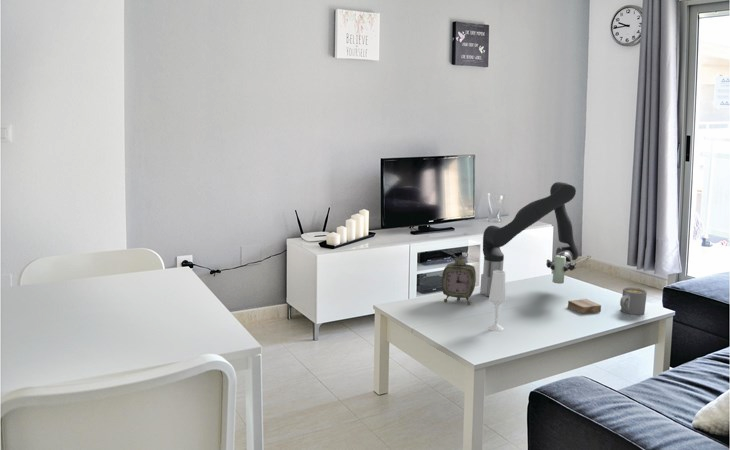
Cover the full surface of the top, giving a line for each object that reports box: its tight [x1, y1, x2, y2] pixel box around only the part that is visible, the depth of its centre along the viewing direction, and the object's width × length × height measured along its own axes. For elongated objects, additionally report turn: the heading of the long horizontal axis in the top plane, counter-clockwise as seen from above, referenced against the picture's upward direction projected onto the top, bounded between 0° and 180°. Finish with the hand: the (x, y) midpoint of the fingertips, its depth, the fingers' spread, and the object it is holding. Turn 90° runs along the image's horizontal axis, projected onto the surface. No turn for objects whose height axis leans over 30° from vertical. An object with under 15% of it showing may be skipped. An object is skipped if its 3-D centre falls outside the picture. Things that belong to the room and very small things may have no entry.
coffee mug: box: [619, 286, 648, 316], centre depth 299 cm, size 13×10×10 cm
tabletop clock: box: [441, 248, 477, 306], centre depth 305 cm, size 14×9×25 cm, turn 73°
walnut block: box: [567, 298, 602, 315], centre depth 301 cm, size 10×10×3 cm
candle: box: [552, 255, 566, 284], centre depth 304 cm, size 5×5×13 cm
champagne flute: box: [486, 270, 507, 332], centre depth 271 cm, size 7×7×24 cm
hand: (558, 268), depth 302 cm, fingers closed on candle, 5 cm apart
